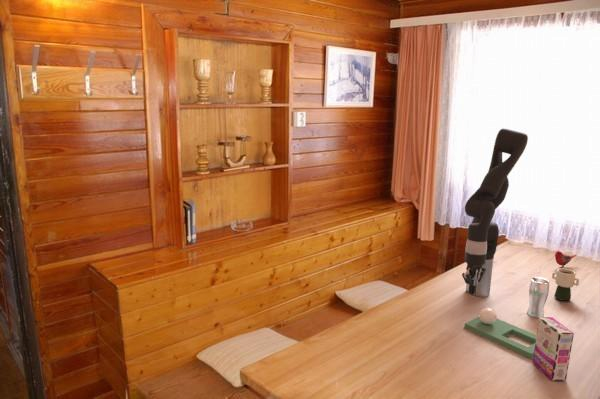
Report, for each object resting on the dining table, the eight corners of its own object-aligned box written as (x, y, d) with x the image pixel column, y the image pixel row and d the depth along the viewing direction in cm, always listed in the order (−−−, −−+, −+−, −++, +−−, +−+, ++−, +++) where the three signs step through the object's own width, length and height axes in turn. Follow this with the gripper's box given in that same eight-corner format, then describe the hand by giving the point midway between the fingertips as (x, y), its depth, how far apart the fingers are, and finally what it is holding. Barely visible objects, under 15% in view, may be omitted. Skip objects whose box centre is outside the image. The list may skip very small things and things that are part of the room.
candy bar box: (567, 381, 146) (575, 333, 142) (552, 381, 146) (559, 333, 142) (546, 361, 157) (552, 316, 153) (531, 361, 157) (538, 316, 153)
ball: (475, 322, 179) (477, 308, 177) (484, 318, 182) (486, 304, 181) (489, 328, 174) (491, 314, 173) (498, 324, 177) (500, 309, 176)
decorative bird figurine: (549, 269, 241) (552, 250, 239) (572, 264, 249) (575, 246, 246) (554, 271, 239) (557, 252, 236) (577, 266, 246) (580, 248, 244)
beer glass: (547, 319, 186) (552, 284, 183) (528, 317, 188) (533, 282, 184) (542, 311, 193) (547, 277, 190) (524, 310, 194) (528, 276, 191)
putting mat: (464, 328, 178) (464, 323, 178) (485, 318, 186) (485, 313, 186) (530, 359, 158) (531, 353, 158) (551, 346, 166) (552, 341, 166)
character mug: (578, 301, 204) (583, 273, 201) (571, 305, 199) (576, 277, 196) (552, 292, 212) (556, 265, 209) (545, 296, 208) (549, 269, 205)
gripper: (476, 245, 185) (472, 286, 189) (457, 251, 177) (453, 294, 181) (494, 250, 180) (490, 292, 183) (475, 256, 172) (470, 300, 175)
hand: (471, 293), depth 182 cm, fingers closed
